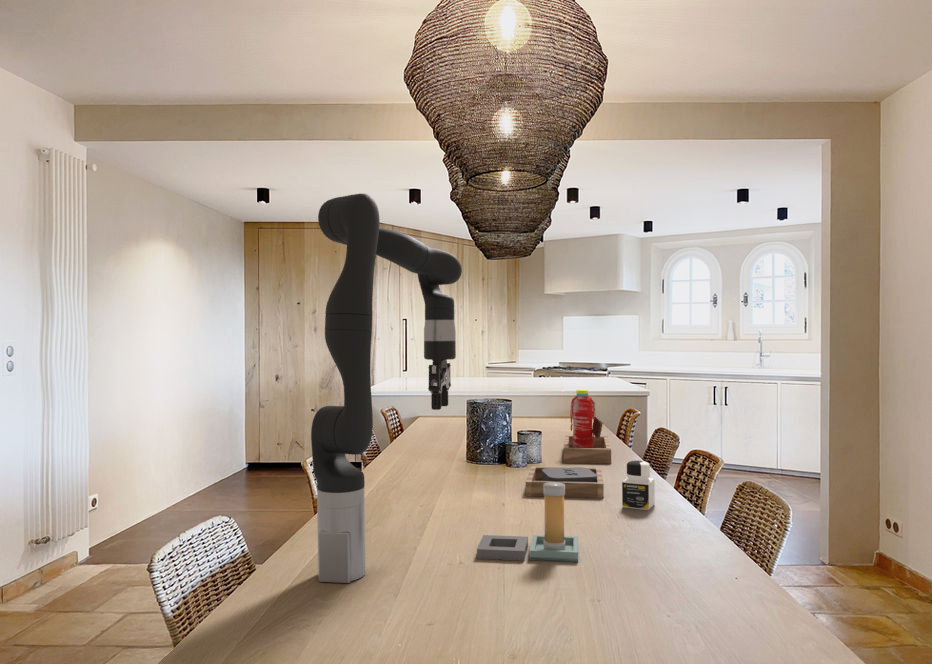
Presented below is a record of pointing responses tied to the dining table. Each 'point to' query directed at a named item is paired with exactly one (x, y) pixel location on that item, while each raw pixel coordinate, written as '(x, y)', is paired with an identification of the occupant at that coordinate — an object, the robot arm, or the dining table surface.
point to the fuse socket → (502, 547)
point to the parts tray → (554, 555)
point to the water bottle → (584, 420)
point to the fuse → (554, 516)
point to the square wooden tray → (570, 487)
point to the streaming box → (569, 474)
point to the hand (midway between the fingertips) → (440, 407)
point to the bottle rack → (588, 451)
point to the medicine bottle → (638, 486)
